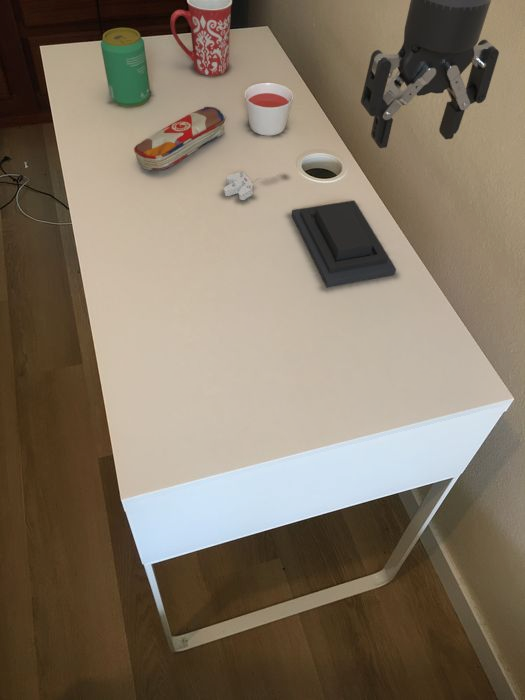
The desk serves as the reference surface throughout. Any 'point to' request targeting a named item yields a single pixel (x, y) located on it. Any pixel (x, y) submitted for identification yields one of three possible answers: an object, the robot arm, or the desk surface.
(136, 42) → the beverage can
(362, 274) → the base pad
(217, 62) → the mug
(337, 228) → the black pad
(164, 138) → the pencil case
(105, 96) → the desk surface
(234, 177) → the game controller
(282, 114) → the candle
